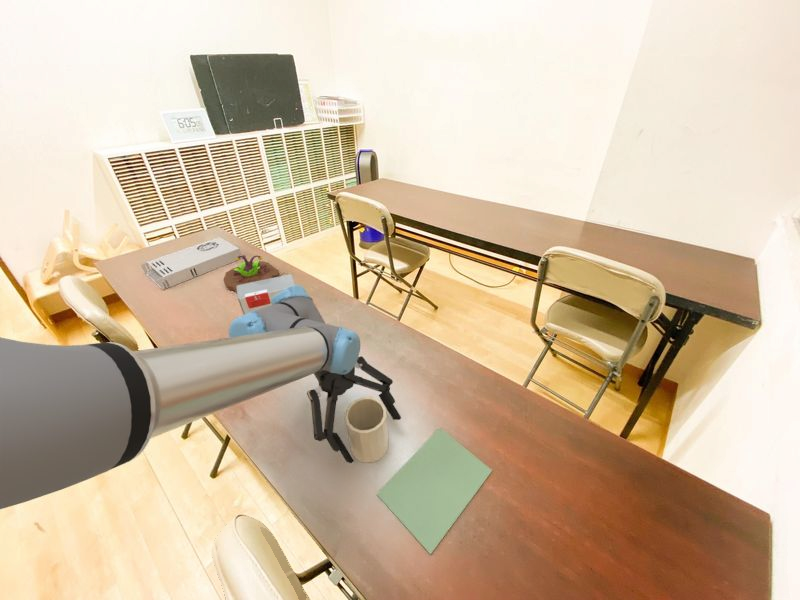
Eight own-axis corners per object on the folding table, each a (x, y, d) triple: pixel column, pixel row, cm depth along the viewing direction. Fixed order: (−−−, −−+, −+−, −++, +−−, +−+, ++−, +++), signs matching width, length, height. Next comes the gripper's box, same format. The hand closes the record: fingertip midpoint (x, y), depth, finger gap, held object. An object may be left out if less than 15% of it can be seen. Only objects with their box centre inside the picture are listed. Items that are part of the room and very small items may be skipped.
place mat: (430, 555, 56) (430, 554, 56) (376, 494, 64) (376, 493, 64) (492, 471, 67) (492, 470, 67) (439, 428, 75) (440, 427, 75)
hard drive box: (256, 352, 97) (235, 299, 85) (255, 337, 102) (235, 284, 90) (308, 337, 102) (295, 285, 90) (304, 323, 107) (291, 272, 95)
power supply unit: (145, 274, 135) (140, 264, 132) (223, 246, 155) (219, 236, 152) (162, 290, 125) (156, 279, 122) (242, 258, 145) (239, 248, 142)
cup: (367, 471, 68) (363, 441, 61) (343, 444, 73) (336, 414, 66) (395, 443, 73) (394, 413, 66) (371, 420, 77) (367, 390, 71)
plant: (218, 278, 131) (208, 254, 125) (264, 261, 142) (257, 238, 135) (236, 299, 119) (226, 273, 113) (285, 279, 130) (278, 254, 123)
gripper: (361, 329, 78) (406, 403, 79) (265, 388, 64) (321, 479, 64) (374, 322, 72) (423, 402, 72) (271, 386, 58) (333, 486, 58)
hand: (375, 439), depth 68 cm, fingers open, 13 cm apart
